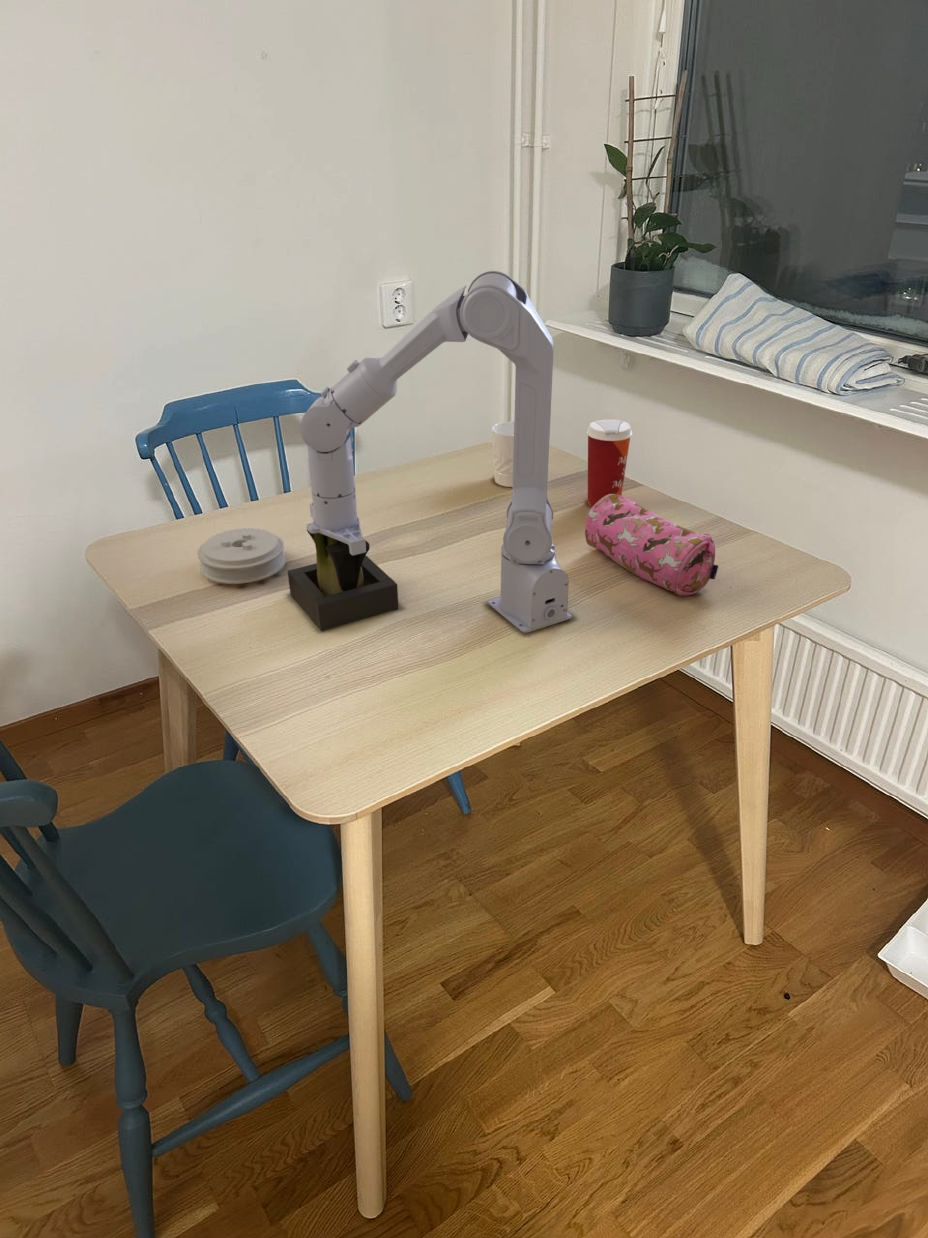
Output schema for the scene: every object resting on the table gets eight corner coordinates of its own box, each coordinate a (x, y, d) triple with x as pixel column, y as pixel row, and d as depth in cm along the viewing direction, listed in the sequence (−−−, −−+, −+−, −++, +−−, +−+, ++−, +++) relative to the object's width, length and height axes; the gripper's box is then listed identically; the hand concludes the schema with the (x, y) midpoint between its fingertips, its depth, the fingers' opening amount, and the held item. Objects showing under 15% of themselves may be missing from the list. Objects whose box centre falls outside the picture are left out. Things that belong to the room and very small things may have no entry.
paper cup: (629, 512, 151) (636, 432, 144) (584, 512, 152) (589, 432, 144) (622, 494, 158) (629, 417, 151) (579, 494, 158) (584, 417, 151)
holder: (398, 609, 124) (397, 583, 122) (320, 631, 119) (318, 605, 117) (364, 575, 132) (362, 551, 130) (290, 595, 127) (287, 570, 125)
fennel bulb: (317, 608, 124) (309, 530, 118) (329, 591, 128) (322, 515, 122) (357, 612, 123) (351, 534, 117) (368, 595, 127) (362, 518, 121)
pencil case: (721, 588, 128) (730, 532, 124) (675, 606, 124) (683, 549, 119) (618, 536, 143) (623, 484, 139) (574, 551, 139) (578, 498, 134)
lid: (261, 594, 128) (257, 563, 125) (184, 582, 131) (178, 552, 128) (300, 556, 138) (297, 527, 136) (228, 546, 141) (223, 517, 139)
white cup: (488, 487, 161) (488, 434, 156) (494, 471, 168) (494, 420, 163) (531, 489, 160) (533, 436, 155) (535, 473, 167) (537, 422, 162)
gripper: (285, 478, 121) (295, 567, 128) (326, 515, 110) (335, 610, 117) (333, 468, 124) (341, 555, 131) (378, 504, 113) (383, 597, 120)
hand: (341, 580), depth 124 cm, fingers open, 5 cm apart
